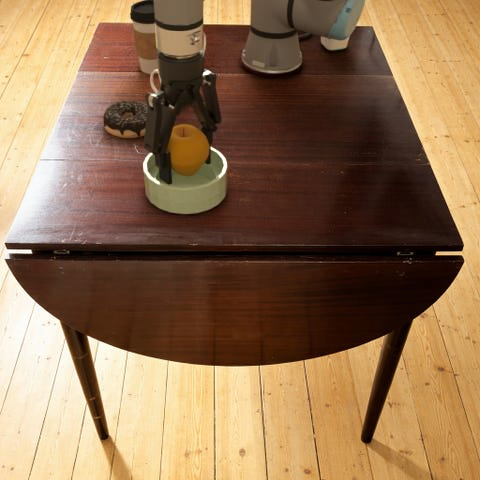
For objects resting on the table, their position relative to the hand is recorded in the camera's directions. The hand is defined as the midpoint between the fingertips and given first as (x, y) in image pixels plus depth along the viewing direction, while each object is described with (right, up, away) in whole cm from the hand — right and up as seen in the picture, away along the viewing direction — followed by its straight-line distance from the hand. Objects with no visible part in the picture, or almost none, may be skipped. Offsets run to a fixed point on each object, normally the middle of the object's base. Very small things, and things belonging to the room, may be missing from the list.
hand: (185, 170), depth 113 cm
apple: (0, 0, 0) cm, 0 cm away
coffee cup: (-12, +34, +38) cm, 52 cm away
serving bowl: (0, -3, +3) cm, 5 cm away
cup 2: (+35, +45, +50) cm, 75 cm away
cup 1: (-6, +22, +26) cm, 35 cm away
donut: (-14, +14, +19) cm, 27 cm away
